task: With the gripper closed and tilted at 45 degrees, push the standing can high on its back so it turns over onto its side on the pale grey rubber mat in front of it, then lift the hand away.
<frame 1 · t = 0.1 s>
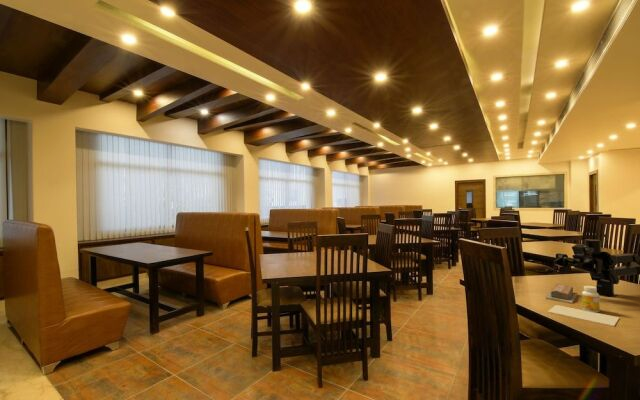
hand: (563, 264, 141), 17 cm above the table, tool horizontal, fingers open, 9 cm apart
packaged product: (561, 298, 145), on the table
rubber mat: (582, 315, 122), on the table
supplement bottle: (591, 310, 127), on the table
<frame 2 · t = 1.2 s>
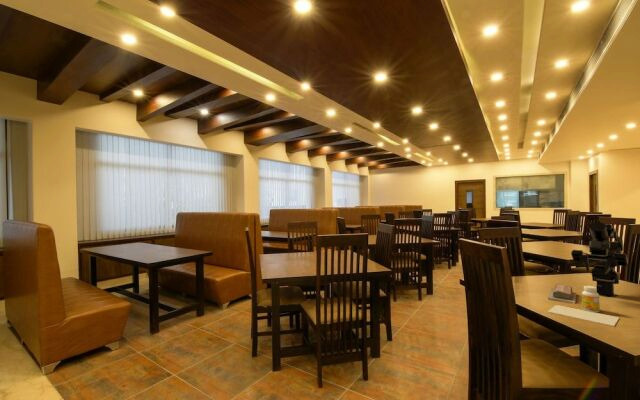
hand: (596, 272, 135), 14 cm above the table, tool tilted 45°, fingers open, 6 cm apart
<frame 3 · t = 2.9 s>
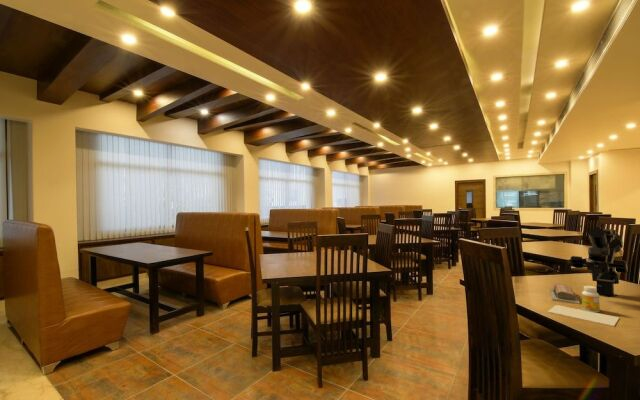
hand: (595, 279, 134), 11 cm above the table, tool tilted 45°, fingers closed
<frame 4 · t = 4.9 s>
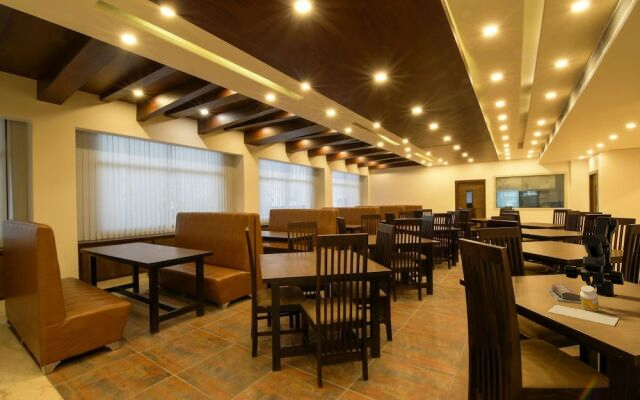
hand: (589, 290, 127), 8 cm above the table, tool tilted 50°, fingers closed, pressing on supplement bottle
supplement bottle: (590, 307, 127), point 1 cm above the table, touching gripper
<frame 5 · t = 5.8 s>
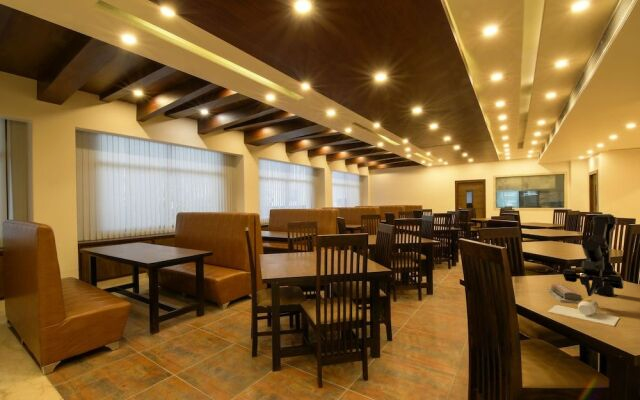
hand: (589, 295, 126), 7 cm above the table, tool tilted 45°, fingers closed
supplement bottle: (590, 304, 125), point 3 cm above the table, touching rubber mat
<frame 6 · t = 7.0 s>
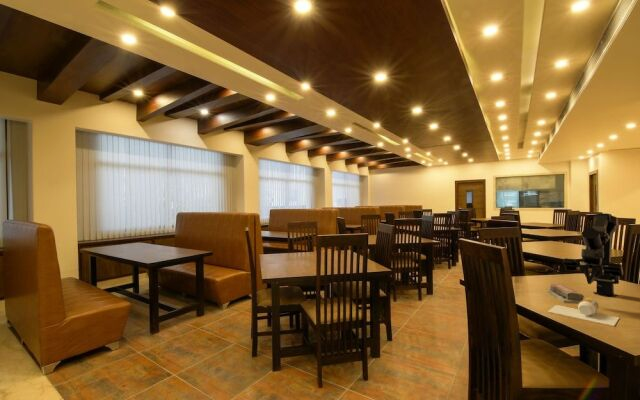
hand: (589, 283, 126), 11 cm above the table, tool tilted 45°, fingers closed
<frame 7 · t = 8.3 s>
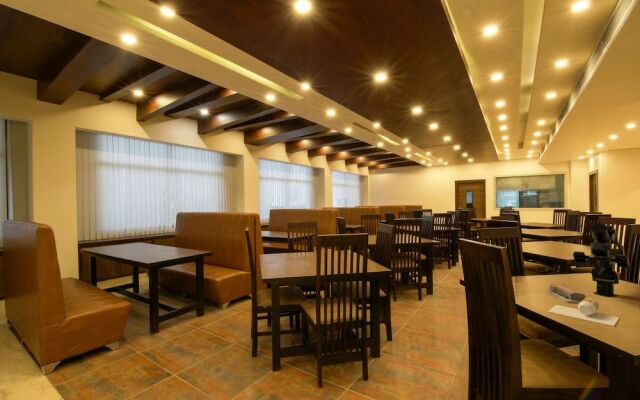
hand: (597, 273, 137), 13 cm above the table, tool tilted 45°, fingers closed
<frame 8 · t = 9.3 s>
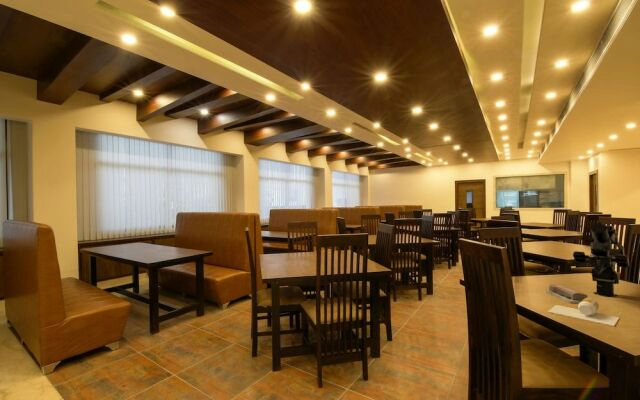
hand: (597, 273, 137), 13 cm above the table, tool tilted 45°, fingers closed
at the end: supplement bottle tilted 90°; supplement bottle touching rubber mat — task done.
